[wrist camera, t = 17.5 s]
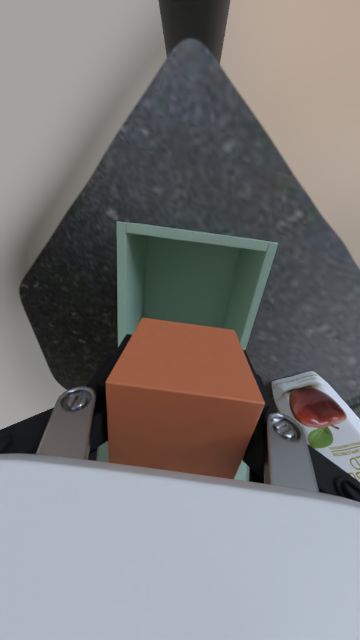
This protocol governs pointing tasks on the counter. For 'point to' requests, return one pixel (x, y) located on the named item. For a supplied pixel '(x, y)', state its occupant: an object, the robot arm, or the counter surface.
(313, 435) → the juice carton
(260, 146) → the counter surface
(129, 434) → the block
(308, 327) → the counter surface
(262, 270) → the compartment
